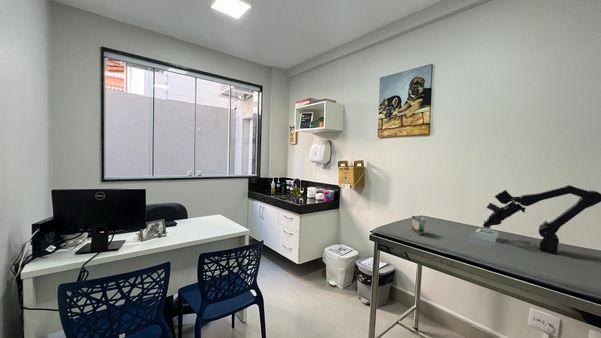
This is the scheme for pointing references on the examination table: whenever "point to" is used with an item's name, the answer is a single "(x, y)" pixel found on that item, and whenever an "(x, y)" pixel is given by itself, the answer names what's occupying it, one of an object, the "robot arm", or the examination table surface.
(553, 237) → the robot arm
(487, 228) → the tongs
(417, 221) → the food container
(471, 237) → the instrument mat
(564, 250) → the examination table surface
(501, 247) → the examination table surface
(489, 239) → the holder
